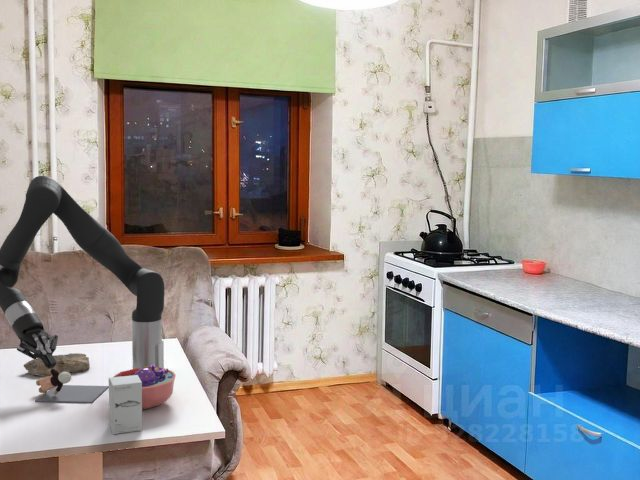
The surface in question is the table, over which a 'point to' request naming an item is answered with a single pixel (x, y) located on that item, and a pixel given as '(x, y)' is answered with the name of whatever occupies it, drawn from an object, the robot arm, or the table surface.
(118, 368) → the table surface
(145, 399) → the cell model
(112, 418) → the supplement box
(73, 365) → the clay tablet
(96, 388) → the felt mat
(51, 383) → the grandmother figurine
